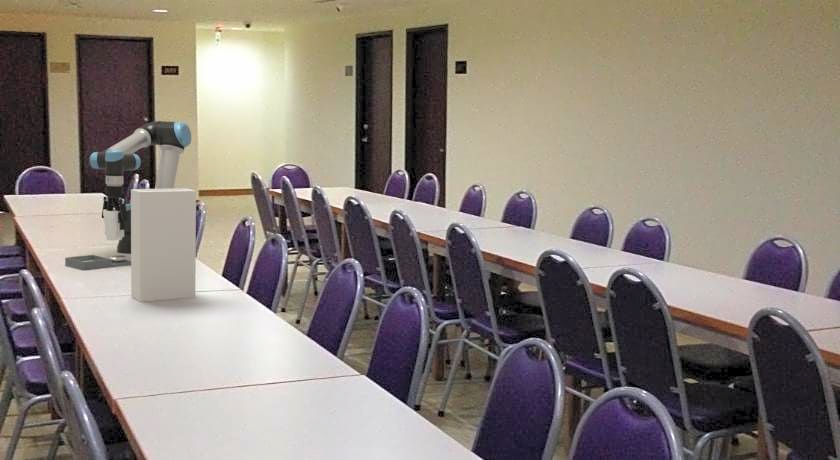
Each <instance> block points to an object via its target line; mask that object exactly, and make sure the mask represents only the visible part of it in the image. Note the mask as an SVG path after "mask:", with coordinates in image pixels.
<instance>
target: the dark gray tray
mask: <svg viewBox="0 0 840 460" xmlns="http://www.w3.org/2000/svg"><path fill="white" fill-rule="evenodd" d="M64 263H65V267H69V268H73V269H77V270H82V271H88V270H89V271H90V270H91V271H92V270H99V269H106V268H115V267H123V266H125V267H126V266H131V260H128V259H125V261H122V262H112V259H109V258H105V256H100V255H95V254H90V255H89V254H88V255H78V256H71V257H70V256H69V257H65V258H64Z"/></svg>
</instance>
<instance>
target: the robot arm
mask: <svg viewBox="0 0 840 460" xmlns="http://www.w3.org/2000/svg"><path fill="white" fill-rule="evenodd" d="M191 142H192V132H191V130H190V127H189V126H188V124H187V123H186V122H183V121H182V122H180V121H164V120H163V121H162V120H156V121H151V122H149V123H146V124H144V125H142V126H140V127H138V128H136V129H135V130H134V131H133V133H132V134H131V135H129V136H128V137H125V138H124V139H122V140H121V141H119V142H117V143H115V144H114V145H112V146H111V147H108V148H107V149H105V150H103V151H101V152H100V151H96V152H92V153H91V154H90V156H89V165H90V166H91V168H93V169H97V170H105V184H106V185H105V194H106V195H107V196H103V204H102V211H101V219H104V216H103V210H105V209H107V211H113V209H116V211H120V212H119V213H118V220H119V221H118V237H122V240H118V243H117V245H116V251H117V252H118V253H123V254H124V253H125V254H131V203H127V200H126V198H122V195H123V194H124V183H125V181H124V172H127V171H128V172H129V171H130V172H133V171H136V170H138V169H139V168H140V167H141V164H142V161H141V158H140V156H139V155H138V154H136V153H135V152H138V151H139V150H140V149H142V148H148V147H149V146H159V148H160V150H161V154H160V159H159V164H158V170H157V175H156V180H155V186H154V189H175V184H176V178H177V172H178V167H179V162H180V156H181V155H182V153H184V152H185V148H187V147H189V146H190V144H191ZM104 235H105V236H106V229H105V228H104Z"/></svg>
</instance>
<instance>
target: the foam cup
mask: <svg viewBox="0 0 840 460" xmlns="http://www.w3.org/2000/svg"><path fill="white" fill-rule="evenodd" d="M102 210H103V209H102ZM119 212H120V211H116V209H115V208H113V211H107V209H105V210H103V216H104V218H103V221H104V230H105V229H106V235H105V236H106V240H108V241H119V240H122V237H118V221H119V220H118V213H119Z"/></svg>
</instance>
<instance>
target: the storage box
mask: <svg viewBox="0 0 840 460" xmlns="http://www.w3.org/2000/svg"><path fill="white" fill-rule="evenodd" d="M130 204H131V253H130V259H131V260H130V261H131V265H130V267H131V268H130V271H131V272H130V276H131V277H130V278H131V281H130V282H131V284H130V285H131V286H130V287H131V288H130V291H131V292H130V293H131V294H130V295H131V296H130V297H131V298H132V299H134V300H137V301H138V302H139V303H143V302H154V301H155V302H157V301H165V300H166V301H167V300H178V299H192V298H196V267H197V266H196V263H197V262H196V259H197V258H196V257H197V256H196V253H197V252H196V245H197V243H196V242H197V236H196V235H197V228H196V227H197V226H196V225H197V222H196V221H197V191H196V190H195V189H190V188H185V187H184V188H183V187H182V188H174V189H155V188H135V189H133V188H131V189H130Z"/></svg>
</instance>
